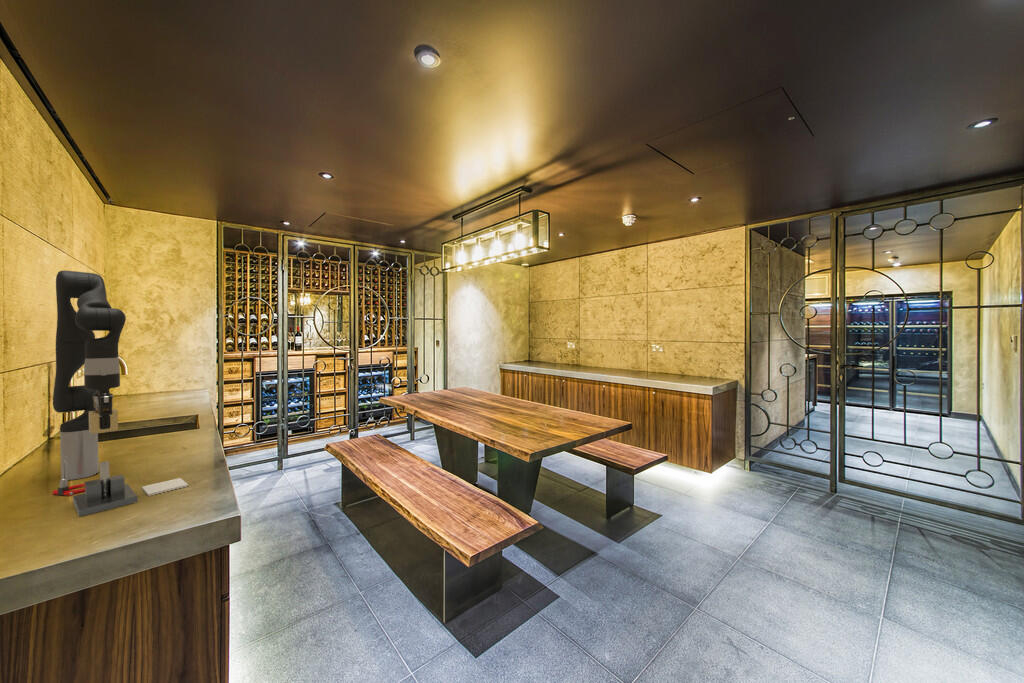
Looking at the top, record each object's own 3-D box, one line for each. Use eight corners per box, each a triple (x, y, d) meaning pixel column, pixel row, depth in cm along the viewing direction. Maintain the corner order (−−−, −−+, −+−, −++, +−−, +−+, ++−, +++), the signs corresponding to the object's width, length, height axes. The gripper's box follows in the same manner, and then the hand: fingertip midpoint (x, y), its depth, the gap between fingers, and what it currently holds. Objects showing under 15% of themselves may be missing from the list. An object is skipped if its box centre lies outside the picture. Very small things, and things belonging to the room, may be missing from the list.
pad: (141, 489, 129) (141, 486, 129) (180, 480, 137) (180, 477, 137) (148, 496, 123) (148, 494, 123) (188, 486, 131) (188, 484, 131)
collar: (88, 430, 118) (88, 411, 118) (115, 427, 123) (114, 408, 122) (91, 433, 115) (91, 413, 115) (118, 430, 119) (117, 410, 119)
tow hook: (85, 485, 134) (49, 495, 125) (86, 448, 134) (51, 455, 125) (105, 487, 132) (70, 497, 123) (106, 449, 133) (72, 456, 124)
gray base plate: (73, 502, 119) (72, 462, 119) (127, 489, 129) (126, 452, 128) (79, 517, 109) (78, 473, 109) (137, 502, 119) (136, 462, 119)
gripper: (81, 372, 120) (82, 426, 120) (87, 375, 111) (88, 433, 111) (115, 370, 126) (116, 422, 126) (123, 373, 117) (125, 428, 117)
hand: (103, 427), depth 119 cm, fingers closed on collar, 5 cm apart
